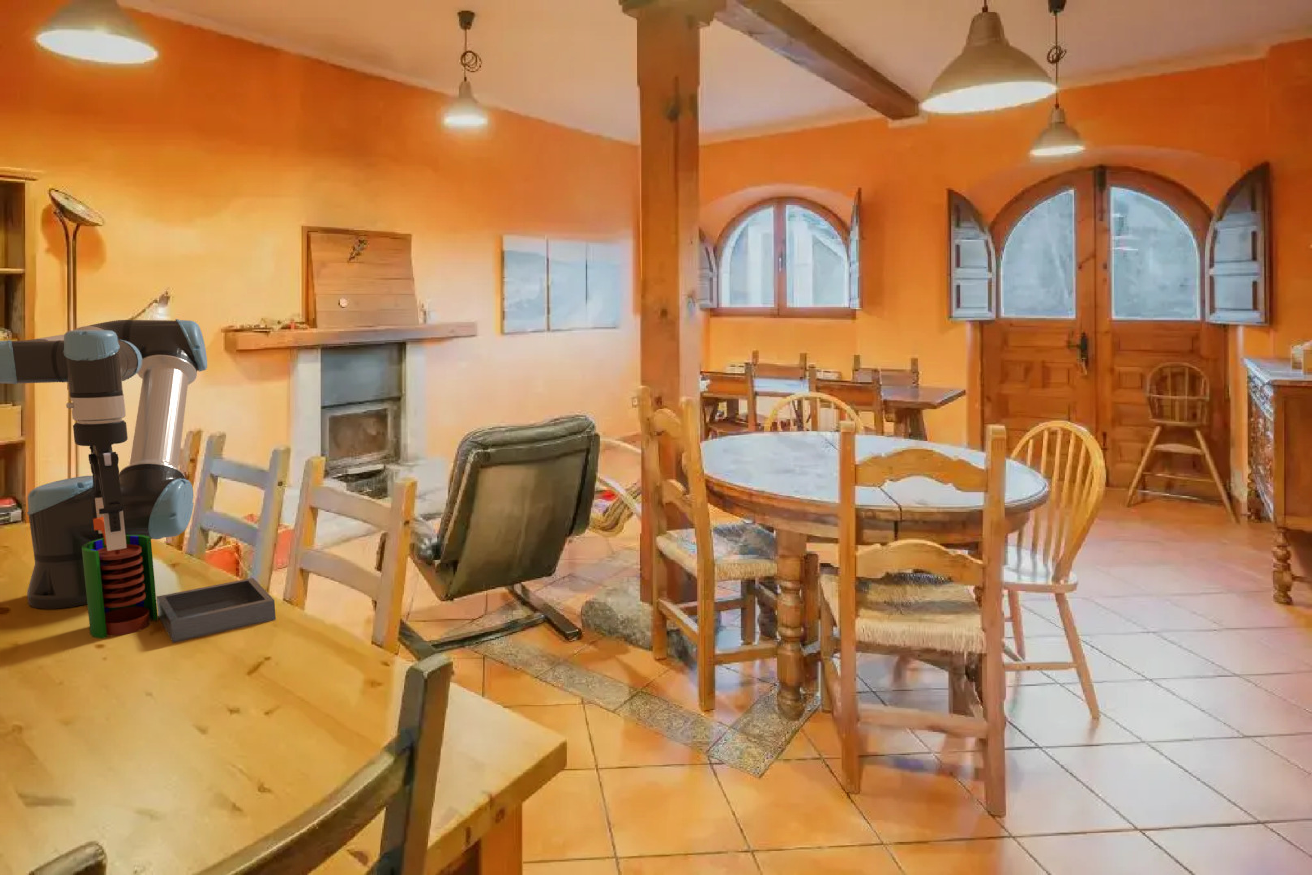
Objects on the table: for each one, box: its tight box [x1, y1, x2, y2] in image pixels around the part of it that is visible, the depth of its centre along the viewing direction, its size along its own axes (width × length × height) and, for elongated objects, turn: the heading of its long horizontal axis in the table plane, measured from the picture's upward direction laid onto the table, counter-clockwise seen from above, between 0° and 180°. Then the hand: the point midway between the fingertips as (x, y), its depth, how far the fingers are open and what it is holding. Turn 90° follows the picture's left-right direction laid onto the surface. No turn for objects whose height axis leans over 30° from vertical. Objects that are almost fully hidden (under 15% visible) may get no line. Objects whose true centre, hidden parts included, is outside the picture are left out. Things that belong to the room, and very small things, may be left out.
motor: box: [82, 517, 159, 639], centre depth 140 cm, size 10×9×20 cm
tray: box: [156, 577, 277, 644], centre depth 146 cm, size 15×16×4 cm
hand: (112, 540), depth 139 cm, fingers open, 13 cm apart
